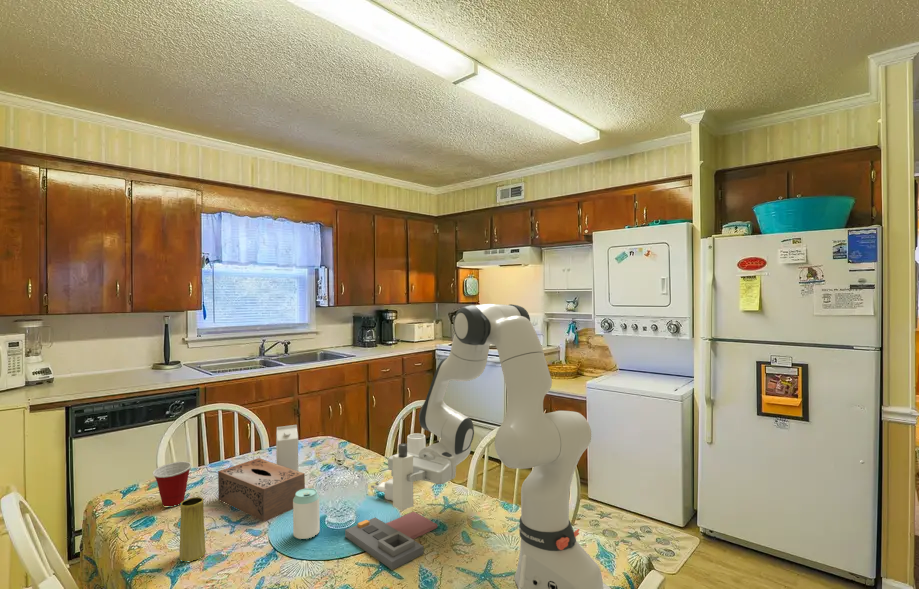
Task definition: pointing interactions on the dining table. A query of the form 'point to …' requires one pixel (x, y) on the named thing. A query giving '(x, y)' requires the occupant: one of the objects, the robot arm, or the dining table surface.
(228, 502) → the tissue box cover
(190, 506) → the vase
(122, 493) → the dining table surface
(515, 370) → the robot arm
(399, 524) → the rubber mat
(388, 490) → the power adapter
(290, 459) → the milk carton
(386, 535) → the power strip
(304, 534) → the can
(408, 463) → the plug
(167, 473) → the plastic cup
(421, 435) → the drinking glass
